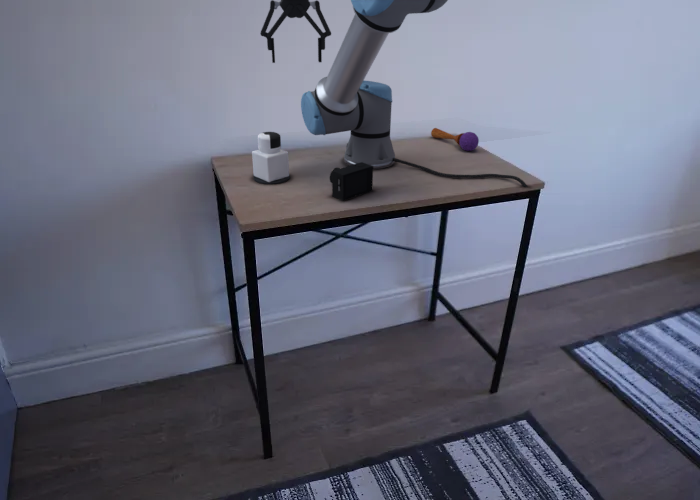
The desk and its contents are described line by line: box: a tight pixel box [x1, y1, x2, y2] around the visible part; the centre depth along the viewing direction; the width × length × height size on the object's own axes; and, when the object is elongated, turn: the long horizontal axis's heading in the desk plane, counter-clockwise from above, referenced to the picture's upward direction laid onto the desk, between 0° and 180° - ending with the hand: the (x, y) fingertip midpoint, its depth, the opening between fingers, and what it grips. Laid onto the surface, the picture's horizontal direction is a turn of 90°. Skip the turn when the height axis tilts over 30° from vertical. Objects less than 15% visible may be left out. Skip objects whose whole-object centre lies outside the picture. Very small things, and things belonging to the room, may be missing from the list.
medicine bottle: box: [251, 131, 290, 182], centre depth 142 cm, size 7×7×12 cm
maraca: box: [430, 127, 480, 152], centre depth 173 cm, size 6×6×20 cm
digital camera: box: [329, 162, 374, 202], centre depth 134 cm, size 10×5×7 cm, turn 133°
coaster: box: [253, 174, 291, 185], centre depth 145 cm, size 10×10×1 cm
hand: (296, 62), depth 155 cm, fingers open, 13 cm apart
